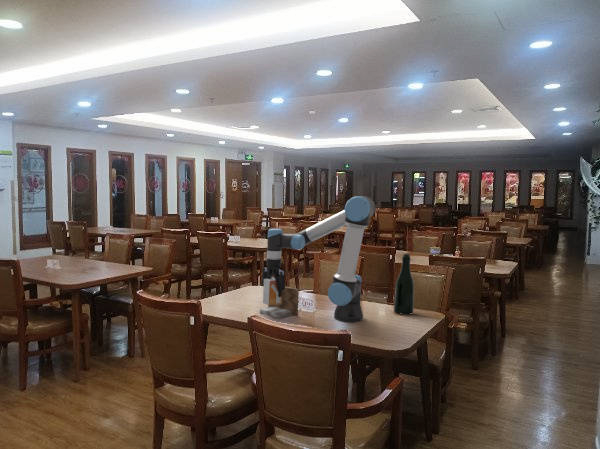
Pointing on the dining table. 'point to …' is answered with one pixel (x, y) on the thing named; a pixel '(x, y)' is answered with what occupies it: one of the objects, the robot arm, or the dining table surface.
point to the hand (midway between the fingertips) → (272, 301)
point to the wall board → (284, 304)
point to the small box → (270, 292)
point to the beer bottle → (404, 288)
